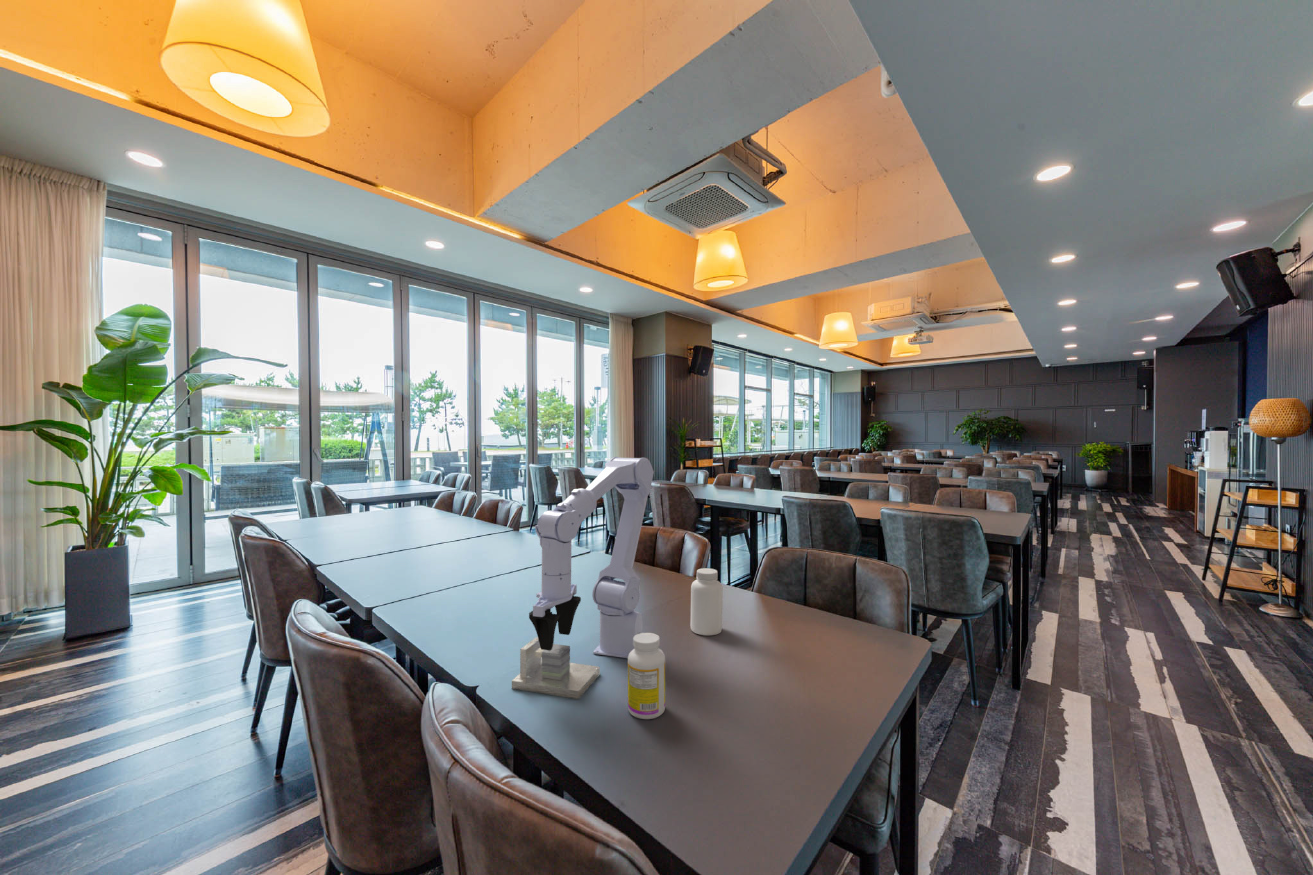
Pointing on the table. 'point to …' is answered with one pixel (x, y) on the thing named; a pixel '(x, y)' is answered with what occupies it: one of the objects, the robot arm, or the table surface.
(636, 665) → the supplement bottle
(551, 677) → the grey stacked block
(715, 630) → the pill bottle
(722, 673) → the table surface
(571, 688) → the stand frame
